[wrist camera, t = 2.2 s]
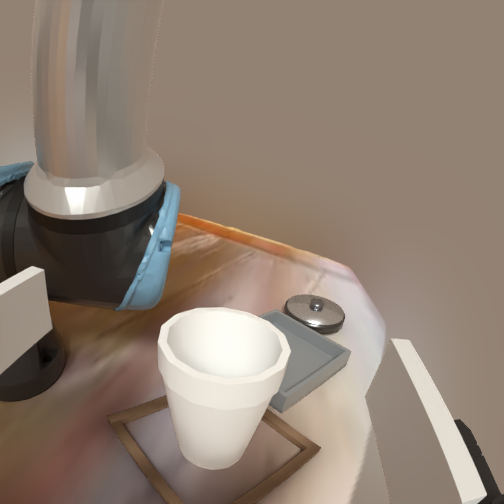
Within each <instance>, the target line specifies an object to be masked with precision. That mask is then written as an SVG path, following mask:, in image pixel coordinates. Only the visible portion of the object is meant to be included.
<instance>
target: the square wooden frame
mask: <svg viewBox="0 0 504 504" xmlns="http://www.w3.org/2000/svg"><path fill="white" fill-rule="evenodd" d="M167 407H169V405H168V400H167V395H165V396H163V397H160V398H157V399H155V400H152V401H149V402H146V403H144V404H141V405H138V406H135V407H132V408H129V409H127V410H124V411H121V412H118V413H115V414H112V415H108V416H107V418H108V422H109V423H110V425H111V426H112V428H113V430H114V431H115V433H116V434H117V436H118V438H119V439H120V441H121V442H122V444H123V445H124V447H125V448H126V450H127V451H128V453H129V454H130V455H131V457H132V458H133V460H134V461H135V463H136V464H137V465H138V467H139V468H140V469H141V471H142V472H143V474H144V475H145V476H146V478H147V479H148V480H149V481H150V483H151V484H152V485H153V487H154V488H155V489H156V490H157V492H158V493H159V494H160V495H161V496H162V498H163V499H164V500H165V501H166V502H167V504H184V503H183V502H182V500H181V499H180V498H179V497H178V496H177V495H176V494H175V493H174V491H173V490H172V489H171V488H170V487H169V485H168V484H167V483H166V482H165V481H164V479H163V478H162V477H161V476H160V475H159V473H158V472H157V471H156V470H155V468H154V467H153V466H152V464H151V463H150V462H149V461H148V459H147V458H146V457H145V455H144V454H143V453H142V451H141V450H140V448H139V447H138V446H137V444H136V443H135V441H134V440H133V439H132V437H131V436H130V434H129V433H128V431H127V430H126V428H125V427H124V425H123V424H124V423H127V422H130V421H133V420H135V419H138V418H141V417H144V416H146V415H149V414H151V413H154V412H157V411H159V410H162V409H164V408H167ZM262 420H263V421H265V422H266V423H267V424H268V425H270V426H271V427H272V428H273V429H275V430H276V431H277V432H279V433H280V434H281V435H283V436H284V437H285V438H287V439H288V440H289V441H291V442H292V443H293V444H295V445H296V446H298V447H299V448H300V449H302V450H303V451H302V452H301V453H300V454H299V455H298V456H296V457H295V458H294V459H293V460H291V461H290V462H289V463H287V464H286V465H285V466H284V467H282V468H281V469H280V470H278V471H277V472H276V473H274V474H273V475H272V476H270V477H269V478H268V479H266V480H265V481H263V482H262V483H261V484H259V485H258V486H256V487H255V488H253V489H252V490H251V491H249V492H248V493H246V494H245V495H243V496H242V497H240V498H239V499H237V500H235V501H234V502H232V503H231V504H254V503H255V502H257V501H258V500H259V499H261V498H262V497H264V496H265V495H266V494H268V493H269V492H270V491H272V490H273V489H274V488H276V487H277V486H278V485H280V484H281V483H282V482H283V481H285V480H286V479H287V478H288V477H290V476H291V475H292V474H293V473H295V472H296V471H297V470H298V469H299V468H301V467H302V466H303V465H304V464H305V463H307V462H308V461H309V460H310V459H311V458H312V457H313V456H315V455H316V454H317V453H318V452H319V450H320V448H321V447H319V446H318V445H316V444H315V443H313V442H312V441H310V440H309V439H308V438H306V437H305V436H303V435H302V434H300V433H299V432H298V431H296V430H295V429H293V428H292V427H291V426H289V425H288V424H287V423H285V422H284V421H283V420H281V419H280V418H279V417H277V416H276V415H275V414H273V413H272V412H271V411H269V410H268V409H266V411H265V413H264V415H263V417H262Z"/></svg>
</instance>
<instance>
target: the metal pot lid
mask: <svg viewBox="0 0 504 504" xmlns="http://www.w3.org/2000/svg"><path fill="white" fill-rule="evenodd" d="M284 314H286V315H288V316H289V317H291V318H293V319H295V320H296V321H298V322H300V323H302V324H303V325H305V326H307V327H309V328H310V329H312V330H314V331H316V332H318V333H319V334H321V335H331V334H334V333H336V332H337V331H339V330H340V329H341V328H342V325H343V322H344V319H345V314H344V312H343V310H342V308H341V307H340V306H339V305H337V304H336V303H334V302H332V301H330V300H328V299H325V298H322V297H319V296H314V295H296V296H293V297H291V298H290V299H288V300H287V301H286V304H285V308H284Z"/></svg>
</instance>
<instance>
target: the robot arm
mask: <svg viewBox="0 0 504 504" xmlns="http://www.w3.org/2000/svg"><path fill="white" fill-rule="evenodd" d="M163 4H164V0H35V8H34V17H33V29H32V47H31V97H32V113H33V127H34V137H35V146H36V154H37V161H36V162H35V164H34V163H33V162H32V161H28V162H22V163H17V164H11V165H6V166H1V167H0V401H18V400H23V399H27V398H30V397H32V396H35V395H37V394H39V393H41V392H43V391H44V390H46V389H47V388H48V387H50V386H51V385H52V384H53V383H54V382H55V381H56V380H57V378H58V377H59V376H60V374H61V372H62V370H63V368H64V365H65V351H64V347H63V342H62V338H61V335H60V333H59V331H58V329H57V328H56V326H55V324H54V322H53V320H52V318H51V316H50V311H49V304H48V300H50V301H56V302H63V303H69V304H76V305H83V306H90V307H97V308H105V309H113V310H114V311H121V310H123V309H127V310H148V309H151V308H153V307H155V306H156V305H157V304H158V303H159V301H160V299H161V297H162V294H163V290H164V286H165V281H166V277H167V271H168V266H169V261H170V255H171V246H172V243H173V237H174V233H175V228H176V223H177V217H178V211H179V204H180V196H181V190H180V188H179V186H177V185H175V184H172V183H170V182H169V181H166V182H164V164H163V161H162V159H161V158H160V156H159V155H158V154H157V153H156V152H155V151H153V150H152V149H151V148H150V147H149V146H148V145H147V144H146V141H147V126H148V114H149V113H148V112H149V101H150V92H151V83H152V73H153V66H154V59H155V52H156V45H157V38H158V32H159V26H160V20H161V15H162V10H163ZM365 399H366V403H367V406H368V410H369V414H370V418H371V422H372V425H373V429H374V433H375V437H376V441H377V445H378V449H379V454H380V458H381V462H382V467H383V471H384V475H385V480H386V485H387V490H388V495H389V499H390V504H504V494H503V495H501V493H500V491H499V489H498V487H497V484H496V482H495V480H494V478H493V476H492V473H491V471H490V469H489V467H488V465H487V463H486V460H485V458H484V456H482V455H481V454H482V452H481V450H480V448H479V446H478V445H477V442H476V440H475V438H474V436H473V434H472V432H471V430H470V429H469V428H468V427H467V426H466V425H465V424H464V423H463V422H462V421H461V420H460V419H459V420H453V418H452V416H451V414H450V412H449V410H448V409H447V407H446V405H445V403H444V401H443V399H442V397H441V395H440V393H439V391H438V390H437V388H436V386H435V384H434V382H433V381H432V379H431V377H430V375H429V373H428V372H427V370H426V368H425V366H424V364H423V363H422V361H421V359H420V358H419V356H418V354H417V353H416V351H415V349H414V347H413V346H412V344H411V342H410V341H409V340H402V339H392V338H391V339H390V342H389V344H388V347H387V349H386V351H385V354H384V356H383V358H382V361H381V363H380V365H379V368H378V370H377V372H376V374H375V376H374V379H373V381H372V383H371V385H370V387H369V389H368V391H367V394H366V396H365Z"/></svg>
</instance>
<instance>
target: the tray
mask: <svg viewBox="0 0 504 504" xmlns="http://www.w3.org/2000/svg"><path fill="white" fill-rule="evenodd" d="M257 317H260V318H262V319H264V320H267V321H269V322H270V323H271V324H272V325H274V326H275V327H276V328H277V329H278V330H280V331H281V332H282V333H283V334H284V335H285V337H286V339H287V342H288V344H289V347H290V350H291V353H290V357H289V360H288V364H287V368H286V371H285V375H284V377H283V380H282V382H281V385H280V387H279V390H278V392H277V393H276V394H274V395H273V396H272V398H271V400H270V402H269V404H270V405H271V406H272V407H274V408H275V409H276V410H278V411H279V412H280V413H282V412H284V411H285V410H287V409H288V408H290V407H291V406H293V405H294V404H295V403H297V402H298V401H300V400H301V399H303V398H304V397H305V396H307V395H308V394H309V393H311V392H312V391H314V390H315V389H316V388H318V387H319V386H320V385H322V384H323V383H324V382H326V381H327V380H328V379H329V378H331V377H332V376H333V375H335V374H336V373H337V372H338V371H340V370H341V369H342V368H343V367H345V366H346V364H347V361H348V359H349V356H350V353H351V351H350V350H348V349H346V348H345V347H343V346H341V345H339V344H337V343H336V342H334V341H332V340H330V339H328V338H327V337H325V336H323V335H321V334H319V333H318V332H316V331H314V330H312V329H310V328H309V327H307V326H305V325H303V324H302V323H300V322H298V321H296V320H295V319H293V318H291V317H289V316H288V315H286V314H284V313H282V312H281V311H279V310H277V309H276V310H273V311H271V312H268V313H265V314H262V315H260V316H257Z"/></svg>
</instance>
